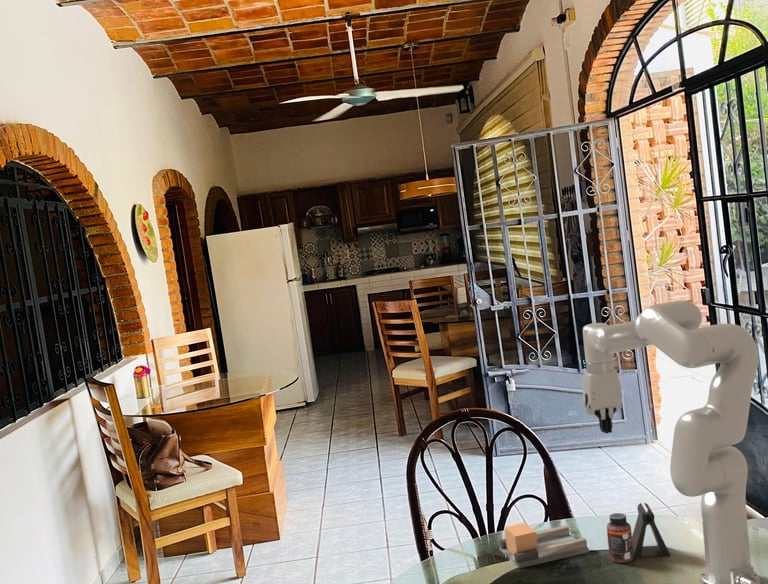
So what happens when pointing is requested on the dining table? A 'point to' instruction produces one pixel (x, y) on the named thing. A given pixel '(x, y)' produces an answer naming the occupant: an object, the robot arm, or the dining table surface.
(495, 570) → the dining table surface
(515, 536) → the block
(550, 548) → the chute
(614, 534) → the supplement bottle
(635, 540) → the dark a-frame stand
